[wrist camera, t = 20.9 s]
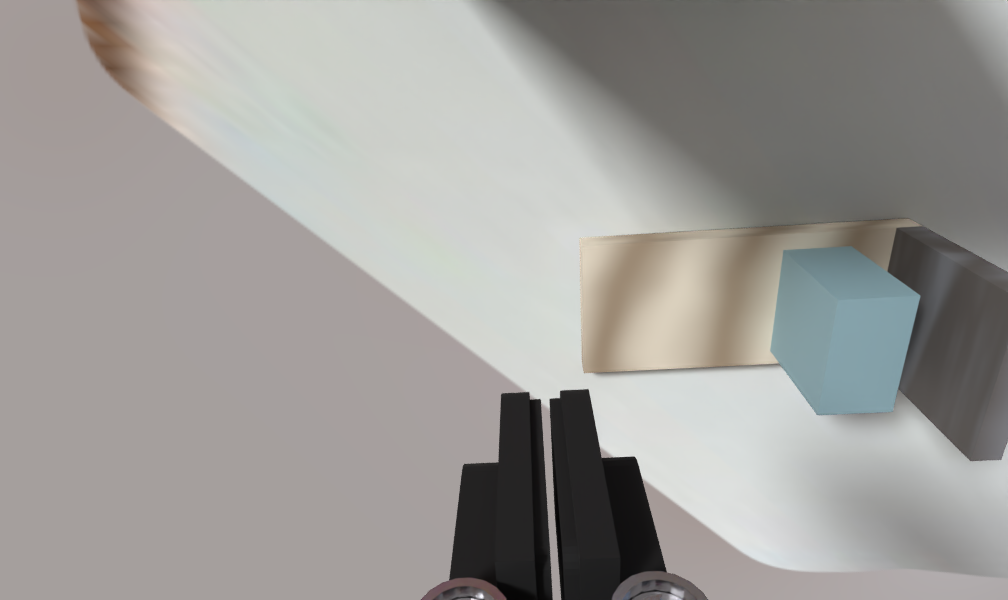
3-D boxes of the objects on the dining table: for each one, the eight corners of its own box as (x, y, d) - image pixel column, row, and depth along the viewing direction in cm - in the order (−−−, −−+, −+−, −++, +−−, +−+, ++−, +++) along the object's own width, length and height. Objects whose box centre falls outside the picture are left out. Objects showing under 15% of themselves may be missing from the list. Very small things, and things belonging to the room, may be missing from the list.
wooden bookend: (908, 218, 38) (1057, 298, 27) (879, 346, 42) (1001, 459, 31) (579, 237, 39) (602, 323, 28) (581, 361, 42) (603, 476, 32)
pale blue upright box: (851, 246, 37) (920, 295, 31) (832, 347, 40) (892, 411, 34) (783, 250, 37) (838, 300, 31) (770, 350, 40) (817, 415, 34)
